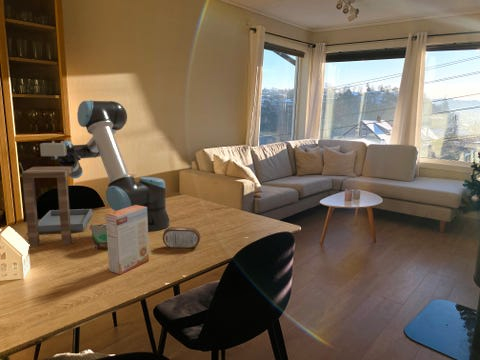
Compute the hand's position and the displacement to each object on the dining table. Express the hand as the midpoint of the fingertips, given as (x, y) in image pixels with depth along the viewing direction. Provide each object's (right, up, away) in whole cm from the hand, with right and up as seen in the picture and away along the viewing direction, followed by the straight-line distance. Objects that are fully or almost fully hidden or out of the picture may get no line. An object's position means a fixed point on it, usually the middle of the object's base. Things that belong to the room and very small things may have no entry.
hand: (57, 143), depth 158 cm
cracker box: (+41, -47, -30) cm, 69 cm away
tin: (+57, -44, -12) cm, 73 cm away
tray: (-2, -37, +12) cm, 39 cm away
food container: (+28, -43, -15) cm, 54 cm away
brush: (0, -4, -1) cm, 5 cm away
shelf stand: (+3, -41, -8) cm, 42 cm away
